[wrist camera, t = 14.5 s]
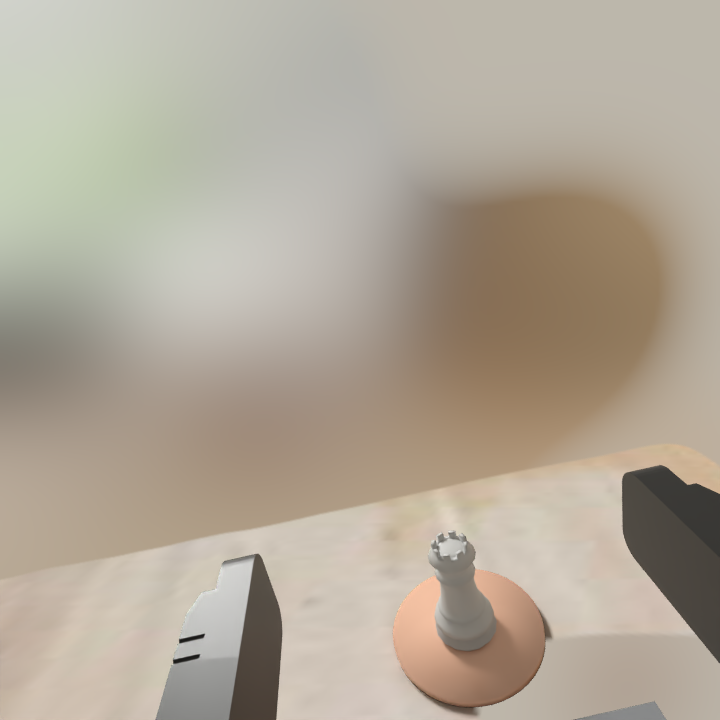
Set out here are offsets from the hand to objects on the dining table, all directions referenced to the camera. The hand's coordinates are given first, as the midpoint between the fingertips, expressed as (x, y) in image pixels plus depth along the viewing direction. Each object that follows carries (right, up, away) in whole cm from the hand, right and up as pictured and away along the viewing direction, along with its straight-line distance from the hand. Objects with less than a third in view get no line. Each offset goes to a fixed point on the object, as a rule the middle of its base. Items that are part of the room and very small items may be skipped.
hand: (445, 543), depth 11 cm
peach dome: (+6, -16, +26) cm, 32 cm away
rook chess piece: (+6, -16, +26) cm, 31 cm away
